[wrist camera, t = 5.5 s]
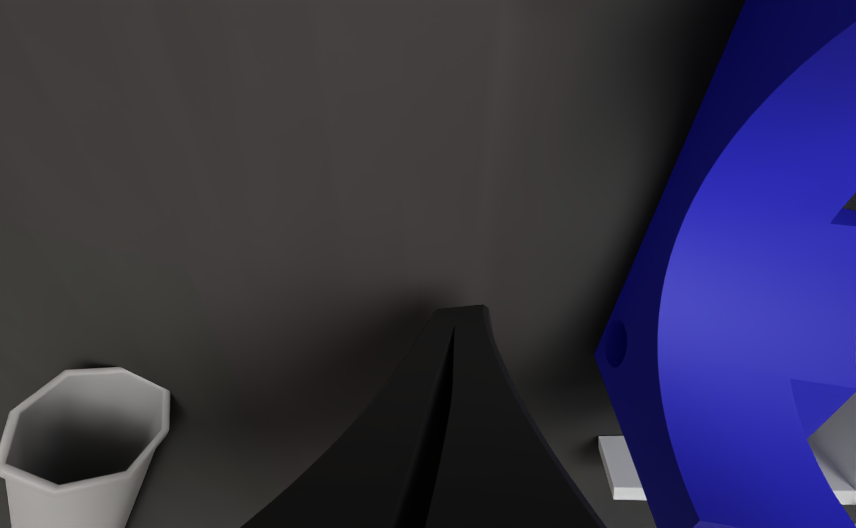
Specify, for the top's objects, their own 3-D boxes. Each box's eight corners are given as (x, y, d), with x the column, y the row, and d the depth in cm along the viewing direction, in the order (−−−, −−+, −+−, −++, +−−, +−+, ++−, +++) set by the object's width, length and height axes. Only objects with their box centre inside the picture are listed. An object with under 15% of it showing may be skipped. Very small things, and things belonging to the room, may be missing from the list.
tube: (93, 612, 26) (141, 497, 14) (-4, 620, 24) (-52, 489, 12) (129, 526, 30) (191, 376, 18) (48, 525, 28) (55, 352, 16)
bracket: (1226, -361, 5) (1645, -593, 3) (827, 446, 13) (878, 505, 11) (599, -134, 7) (640, -202, 5) (598, 447, 15) (613, 499, 13)
